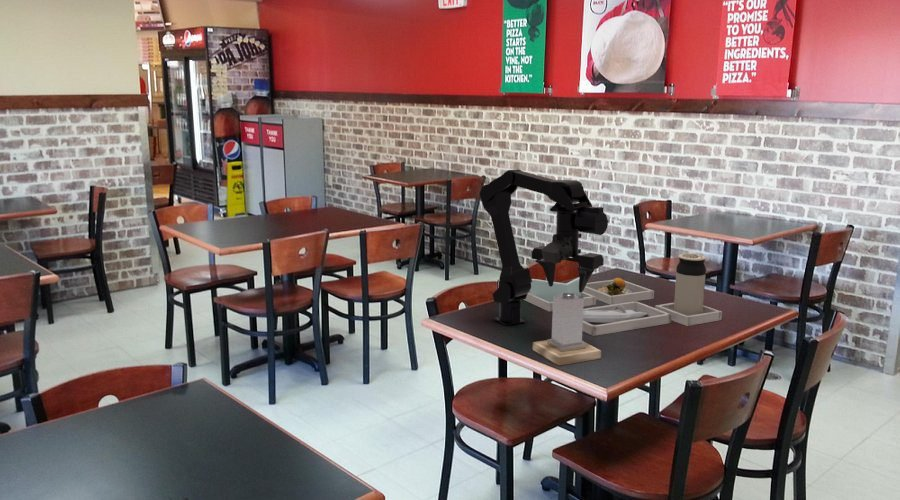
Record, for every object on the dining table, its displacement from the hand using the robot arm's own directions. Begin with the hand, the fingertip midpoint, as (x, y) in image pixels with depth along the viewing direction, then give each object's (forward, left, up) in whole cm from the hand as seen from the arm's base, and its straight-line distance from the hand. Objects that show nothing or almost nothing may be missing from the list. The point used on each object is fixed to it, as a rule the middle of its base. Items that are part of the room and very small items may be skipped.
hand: (565, 289), depth 191 cm
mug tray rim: (0, +43, -13) cm, 45 cm away
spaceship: (-8, +22, -14) cm, 27 cm away
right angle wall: (-30, +18, -14) cm, 38 cm away
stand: (+11, -7, -13) cm, 18 cm away
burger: (-28, +39, -14) cm, 50 cm away
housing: (+11, -7, -11) cm, 17 cm away
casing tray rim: (-5, +21, -13) cm, 25 cm away
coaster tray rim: (-30, +18, -13) cm, 37 cm away
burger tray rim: (-28, +39, -13) cm, 50 cm away
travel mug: (0, +43, -13) cm, 45 cm away
